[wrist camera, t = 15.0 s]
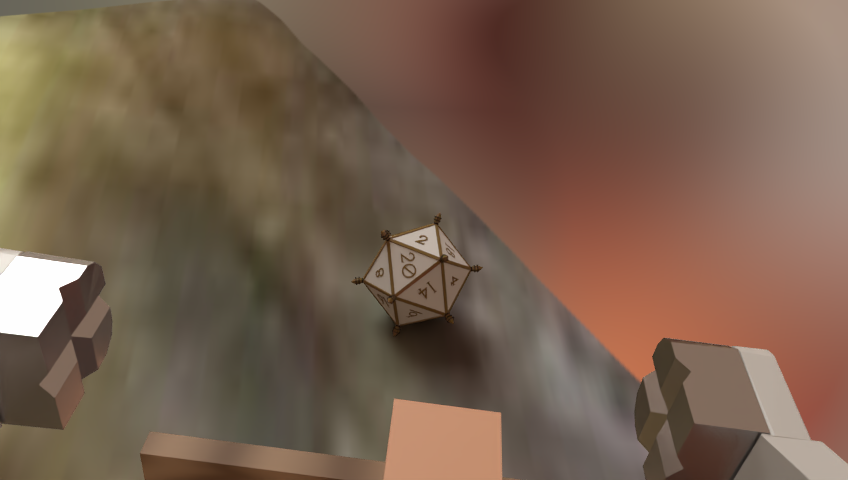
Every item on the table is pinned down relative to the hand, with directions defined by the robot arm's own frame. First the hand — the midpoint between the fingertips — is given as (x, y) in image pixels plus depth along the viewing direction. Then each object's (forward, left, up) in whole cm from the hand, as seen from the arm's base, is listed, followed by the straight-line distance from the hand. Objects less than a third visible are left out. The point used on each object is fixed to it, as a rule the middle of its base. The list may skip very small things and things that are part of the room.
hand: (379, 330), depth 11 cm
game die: (+1, +35, -32) cm, 48 cm away
